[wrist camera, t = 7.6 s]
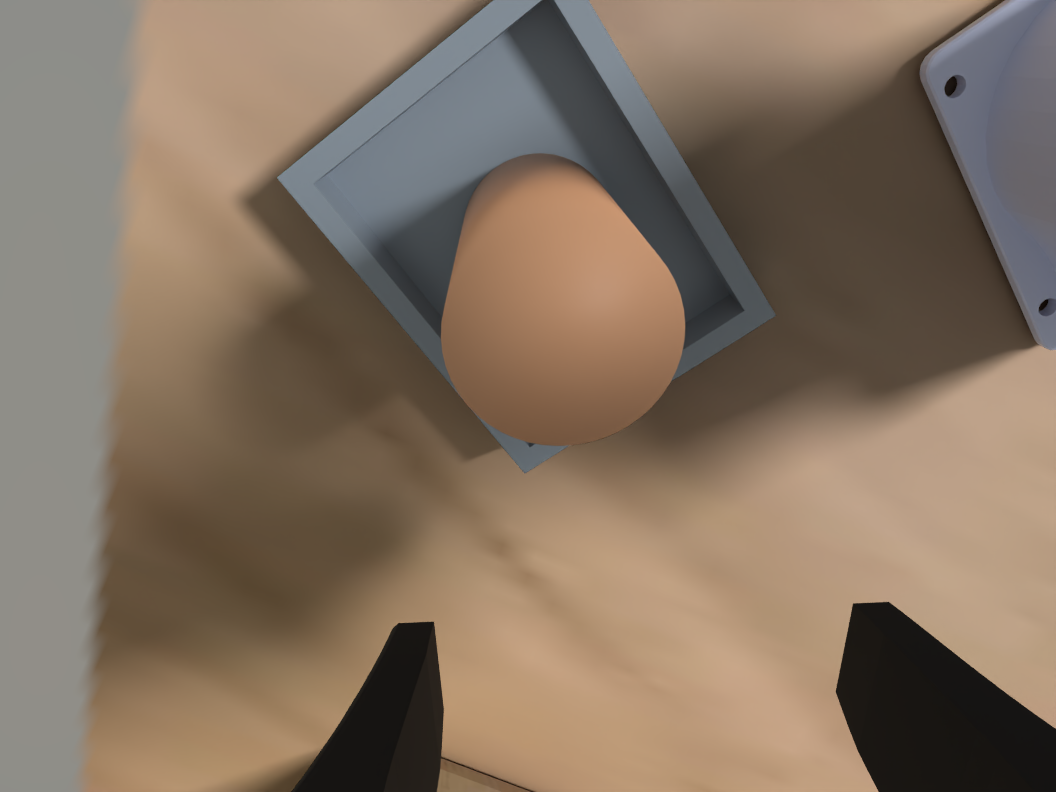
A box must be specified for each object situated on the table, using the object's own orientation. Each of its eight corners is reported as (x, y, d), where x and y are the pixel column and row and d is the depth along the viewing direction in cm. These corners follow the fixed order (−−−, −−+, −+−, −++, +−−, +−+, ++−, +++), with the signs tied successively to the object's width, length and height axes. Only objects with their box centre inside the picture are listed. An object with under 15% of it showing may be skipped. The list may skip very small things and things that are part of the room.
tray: (752, 293, 21) (776, 315, 19) (523, 439, 22) (524, 473, 21) (552, -41, 17) (557, -53, 15) (299, 166, 19) (276, 177, 17)
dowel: (643, 248, 19) (729, 361, 12) (522, 333, 20) (535, 485, 13) (557, 119, 18) (597, 159, 11) (432, 216, 19) (390, 314, 12)
